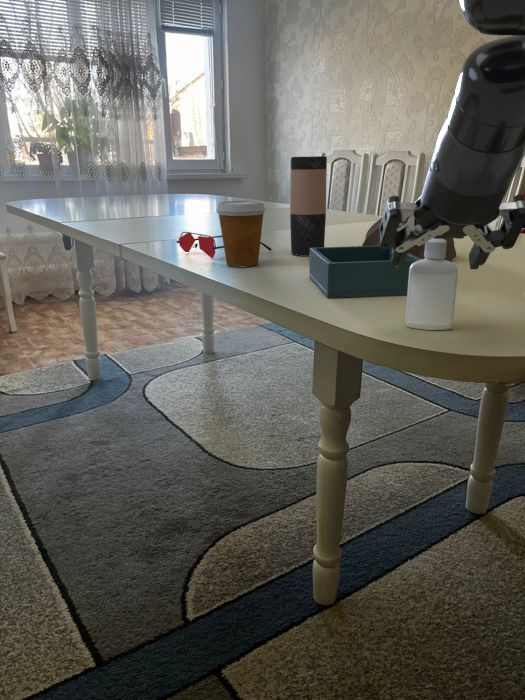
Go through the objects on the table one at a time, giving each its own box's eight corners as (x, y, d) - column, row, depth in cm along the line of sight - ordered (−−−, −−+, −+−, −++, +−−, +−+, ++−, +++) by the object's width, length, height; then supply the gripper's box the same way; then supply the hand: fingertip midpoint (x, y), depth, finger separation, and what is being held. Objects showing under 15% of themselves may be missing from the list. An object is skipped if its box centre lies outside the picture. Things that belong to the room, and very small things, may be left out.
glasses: (176, 253, 121) (174, 230, 120) (234, 244, 132) (233, 223, 130) (212, 261, 112) (211, 236, 110) (272, 251, 122) (272, 228, 120)
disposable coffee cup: (228, 271, 102) (226, 205, 98) (211, 262, 110) (209, 201, 106) (274, 266, 106) (273, 202, 101) (254, 258, 114) (253, 199, 110)
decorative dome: (463, 265, 103) (469, 212, 100) (357, 263, 107) (360, 211, 104) (451, 249, 121) (455, 203, 118) (361, 247, 125) (363, 202, 121)
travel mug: (332, 253, 119) (334, 156, 112) (309, 257, 114) (310, 156, 107) (305, 249, 124) (307, 156, 117) (282, 253, 119) (282, 157, 112)
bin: (390, 275, 96) (391, 245, 95) (421, 294, 83) (424, 260, 81) (309, 278, 95) (309, 247, 93) (327, 298, 81) (328, 263, 80)
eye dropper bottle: (441, 335, 64) (452, 232, 60) (399, 326, 68) (406, 228, 64) (457, 326, 67) (468, 228, 63) (415, 318, 71) (423, 225, 67)
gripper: (548, 130, 51) (493, 237, 65) (393, 133, 52) (373, 237, 66) (562, 193, 47) (501, 290, 62) (397, 194, 49) (375, 289, 63)
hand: (435, 263), depth 64 cm, fingers open, 8 cm apart
